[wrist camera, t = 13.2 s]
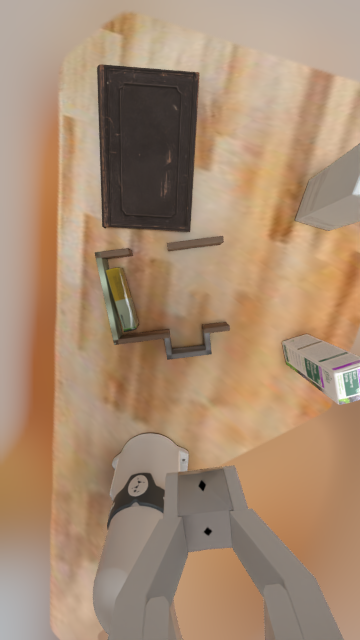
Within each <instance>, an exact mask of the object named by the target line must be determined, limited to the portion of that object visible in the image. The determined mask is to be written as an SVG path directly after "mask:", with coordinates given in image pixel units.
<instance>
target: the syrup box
mask: <svg viewBox="0 0 360 640" xmlns="http://www.w3.org/2000/svg"><path fill="white" fill-rule="evenodd" d="M282 345H283V350H284V355H285V359H286V364H287V365H288V366H290V367H291V368H292V369H293V370H295V371H296V372H297V373H299V374H300V375H301V376H302V377H304V378H305V379H306V380H308V381H309V382H310V383H311V384H313V385H314V386H315V387H317V388H318V389H319V390H321V391H322V392H323V393H324V394H326V395H327V396H328V397H330V398H331V399H332V400H333V401H335V402H336V403H337V404H345V403H349V402H353V401H357V400H360V356H357V355H355V354H353V353H350V352H348V351H346V350H344V349H341V348H339V347H336V346H334V345H332V344H329V343H327V342H325V341H322V340H320V339H318V338H315V337H313V336H311V335H308V334H305V335H301V336H298V337H295V338H291V339H288V340H285V341H282Z"/></svg>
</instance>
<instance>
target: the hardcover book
mask: <svg viewBox="0 0 360 640" xmlns="http://www.w3.org/2000/svg"><path fill="white" fill-rule="evenodd" d="M97 74H98V105H99V136H100V166H101V197H102V226H103V227H104V228H106V227H120V228H137V229H153V230H170V231H186V232H187V231H188V232H190V222H191V206H192V189H193V172H194V155H195V138H196V122H197V105H198V88H199V73H198V72H186V71H173V70H161V69H149V68H137V67H124V66H112V65H99V66H98V67H97Z"/></svg>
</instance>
